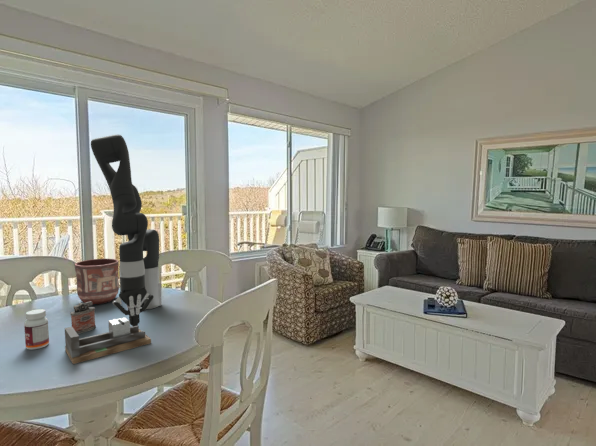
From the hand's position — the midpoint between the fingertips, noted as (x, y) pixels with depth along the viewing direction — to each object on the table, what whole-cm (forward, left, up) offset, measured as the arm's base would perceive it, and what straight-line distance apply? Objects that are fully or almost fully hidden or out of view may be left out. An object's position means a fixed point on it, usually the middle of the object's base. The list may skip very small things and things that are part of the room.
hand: (134, 325), depth 121 cm
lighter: (+11, -21, -5) cm, 24 cm away
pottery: (-2, -57, -5) cm, 57 cm away
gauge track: (+8, 0, -5) cm, 9 cm away
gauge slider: (+5, +1, -3) cm, 6 cm away
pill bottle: (+25, -16, -5) cm, 30 cm away
